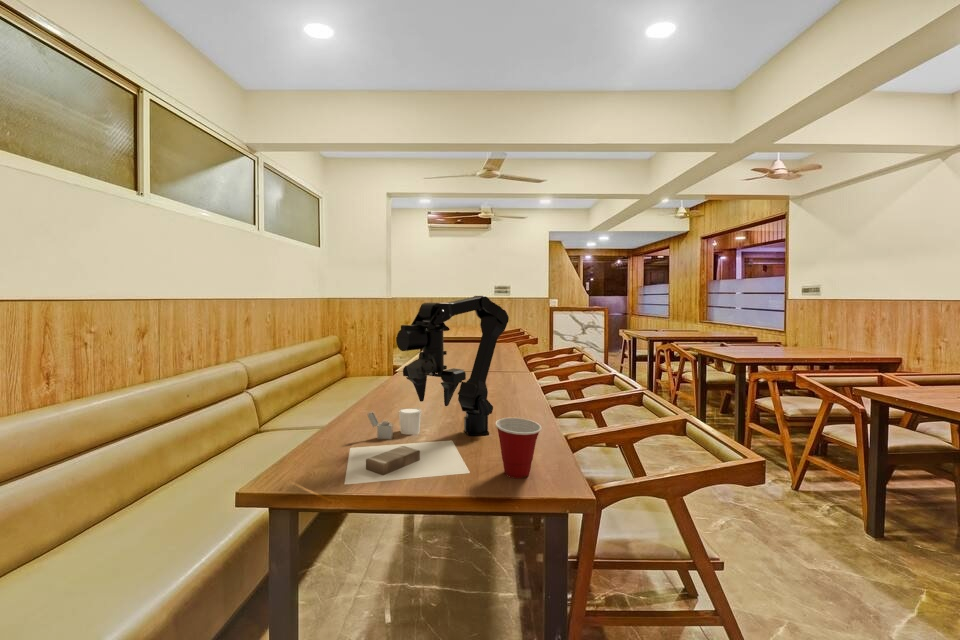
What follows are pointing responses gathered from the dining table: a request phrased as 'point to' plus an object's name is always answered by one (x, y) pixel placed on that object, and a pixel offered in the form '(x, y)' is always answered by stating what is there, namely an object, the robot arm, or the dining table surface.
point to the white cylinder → (410, 421)
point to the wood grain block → (392, 460)
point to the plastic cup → (517, 444)
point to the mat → (432, 463)
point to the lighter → (381, 427)
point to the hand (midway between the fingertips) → (433, 403)
